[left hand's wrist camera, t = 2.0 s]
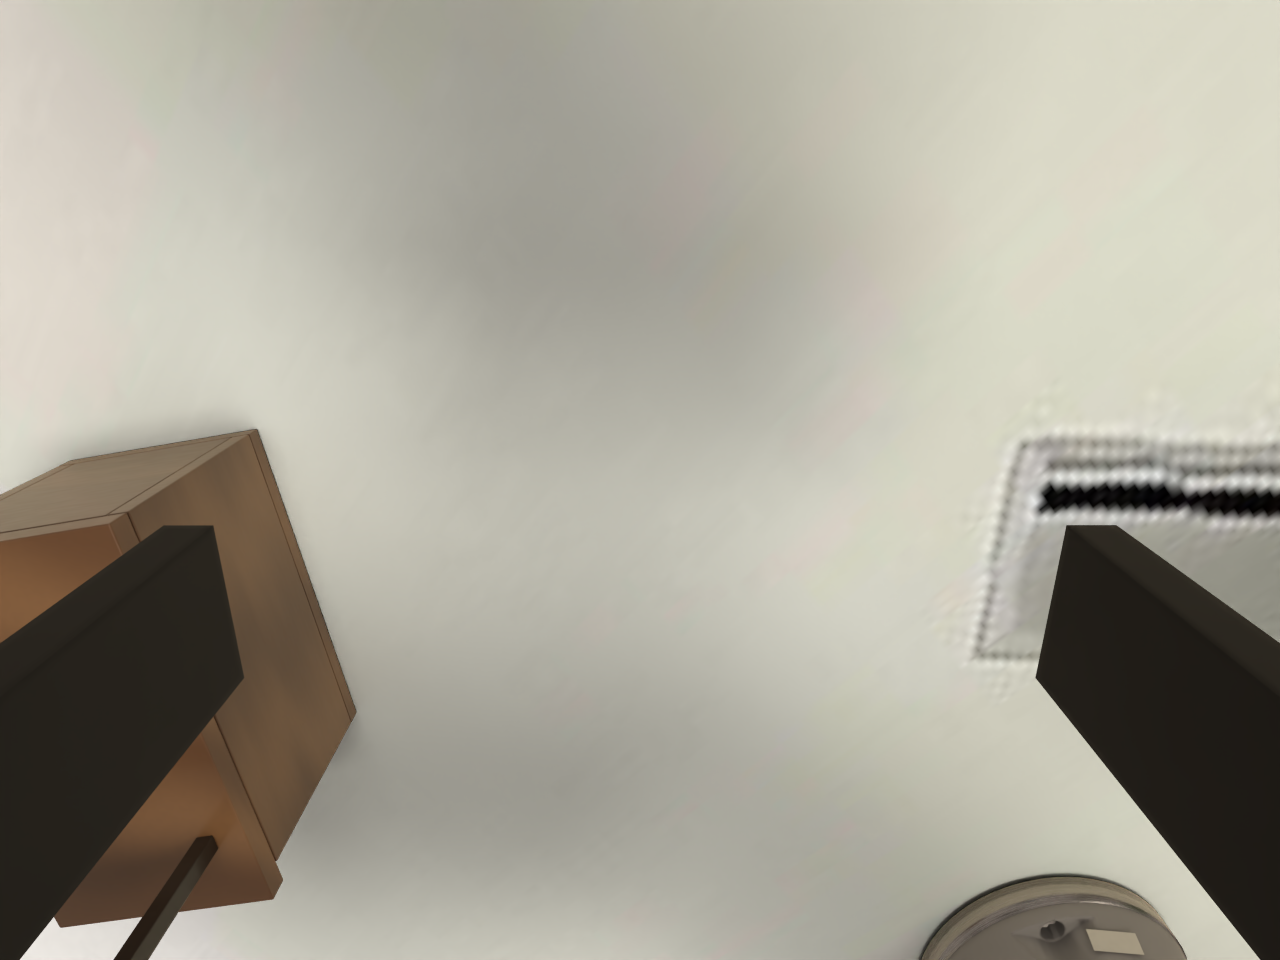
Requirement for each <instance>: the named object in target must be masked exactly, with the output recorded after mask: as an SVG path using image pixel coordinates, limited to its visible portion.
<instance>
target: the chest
mask: <svg viewBox="0 0 1280 960" xmlns="http://www.w3.org/2000/svg"><path fill="white" fill-rule="evenodd" d="M122 513H127V515H128V517H129V520H130V522H131V524H132V527H133V529H134V531H135V534H136V536H137V538H138V541H139V543H140V542H141V541H143V540H144V539H145V538H147V537H148V536H150V535H151V534H152V533H154V532H155V531H156V530H158V529H159V528H161V527H162V526H163V525H213V526H214V531H215V536H216V541H217V546H218V551H219V555H220V560H221V565H222V570H223V575H224V580H225V585H226V590H227V595H228V600H229V605H230V610H231V614H232V619H233V624H234V629H235V634H236V639H237V644H238V649H239V654H240V659H241V664H242V669H243V673H244V679H243V680H242V681H241V683H240V684H239V685H238V686H237V688H236V689H235V690H234V691H233V693H232V694H231V695H230V696H229V698H228V699H227V700H226V701H225V703H224V704H223V705H222V706H221V708H220V709H219V710H218V711H217V713H216V714H215V715H214V719H215V721H216V723H217V726H218V728H219V731H220V733H221V735H222V738H223V740H224V742H225V745H226V747H227V749H228V752H229V754H230V756H231V759H232V761H233V763H234V766H235V768H236V770H237V773H238V775H239V777H240V780H241V782H242V784H243V787H244V789H245V791H246V794H247V796H248V798H249V801H250V803H251V806H252V808H253V810H254V813H255V815H256V817H257V820H258V822H259V824H260V827H261V829H262V831H263V834H264V836H265V838H266V841H267V843H268V845H269V848H270V850H271V852H272V855H273V857H274V859H275V861H277V860H278V858H279V856H280V854H281V852H282V850H283V849H284V847H285V845H286V843H287V841H288V839H289V837H290V836H291V834H292V832H293V830H294V828H295V826H296V824H297V822H298V821H299V819H300V817H301V815H302V813H303V811H304V809H305V807H306V806H307V804H308V802H309V800H310V798H311V796H312V794H313V793H314V791H315V789H316V787H317V785H318V783H319V781H320V779H321V778H322V776H323V774H324V772H325V770H326V768H327V766H328V765H329V763H330V761H331V759H332V757H333V755H334V753H335V751H336V750H337V748H338V746H339V744H340V742H341V740H342V738H343V736H344V735H345V733H346V731H347V729H348V727H349V725H350V723H351V721H352V720H353V718H354V716H355V714H356V710H355V707H354V704H353V701H352V699H351V696H350V693H349V690H348V687H347V684H346V682H345V679H344V676H343V673H342V670H341V667H340V664H339V662H338V659H337V656H336V653H335V650H334V647H333V645H332V642H331V639H330V636H329V633H328V630H327V627H326V625H325V622H324V619H323V616H322V613H321V610H320V608H319V605H318V602H317V599H316V596H315V593H314V591H313V588H312V585H311V582H310V579H309V576H308V573H307V571H306V568H305V565H304V562H303V559H302V556H301V554H300V551H299V548H298V545H297V542H296V539H295V536H294V534H293V531H292V528H291V525H290V522H289V519H288V517H287V514H286V511H285V508H284V505H283V502H282V500H281V497H280V494H279V491H278V488H277V485H276V482H275V480H274V477H273V474H272V471H271V468H270V465H269V463H268V460H267V457H266V454H265V451H264V448H263V445H262V443H261V440H260V437H259V434H258V431H257V430H256V429H255V430H249V431H243V432H237V433H231V434H225V435H219V436H213V437H207V438H202V439H196V440H190V441H184V442H178V443H172V444H166V445H160V446H154V447H148V448H142V449H136V450H131V451H125V452H119V453H113V454H107V455H101V456H95V457H89V458H83V459H77V460H71V461H68V462H66V463H64V464H62V465H60V466H59V467H56V468H54V469H52V470H50V471H48V472H46V473H44V474H42V475H40V476H38V477H36V478H34V479H32V480H30V481H28V482H26V483H24V484H22V485H20V486H17V487H15V488H13V489H11V490H9V491H7V492H5V493H3V494H1V495H0V534H1V533H7V532H13V531H19V530H25V529H31V528H37V527H43V526H49V525H55V524H61V523H68V522H74V521H80V520H86V519H92V518H98V517H104V516H110V515H116V514H122Z"/></svg>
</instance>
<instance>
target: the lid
mask: <svg viewBox="0 0 1280 960" xmlns="http://www.w3.org/2000/svg"><path fill="white" fill-rule="evenodd" d="M138 543H139V541H138V538H137V536H136V534H135V531H134V529H133V527H132V524H131V522H130V520H129V517H128V515H127V513H122V514H116V515H110V516H104V517H98V518H92V519H86V520H80V521H74V522H68V523H61V524H55V525H49V526H43V527H37V528H31V529H25V530H19V531H13V532H7V533H1V534H0V643H1V642H3V641H4V640H5V639H7V638H8V637H9V636H11V635H12V634H14V633H15V632H16V631H18V630H19V629H21V628H22V627H23V626H25V625H26V624H28V623H29V622H30V621H32V620H33V619H34V618H36V617H37V616H39V615H40V614H41V613H43V612H44V611H46V610H47V609H48V608H50V607H51V606H52V605H54V604H55V603H57V602H58V601H59V600H61V599H62V598H64V597H65V596H66V595H68V594H69V593H70V592H72V591H73V590H75V589H76V588H77V587H79V586H80V585H82V584H83V583H84V582H86V581H87V580H89V579H90V578H91V577H93V576H94V575H95V574H97V573H98V572H100V571H101V570H102V569H104V568H105V567H107V566H108V565H109V564H111V563H112V562H113V561H115V560H116V559H118V558H119V557H120V556H122V555H123V554H125V553H126V552H127V551H129V550H130V549H132V548H133V547H134V546H136V545H137V544H138ZM282 881H283V878H282V876H281V873H280V871H279V869H278V866H277V864H276V862H275V859H274V857H273V855H272V852H271V850H270V848H269V845H268V843H267V841H266V838H265V836H264V834H263V831H262V829H261V827H260V824H259V822H258V820H257V817H256V815H255V813H254V810H253V808H252V806H251V803H250V801H249V798H248V796H247V794H246V791H245V789H244V787H243V784H242V782H241V780H240V777H239V775H238V773H237V770H236V768H235V766H234V763H233V761H232V759H231V756H230V754H229V752H228V749H227V747H226V745H225V742H224V740H223V738H222V735H221V733H220V731H219V728H218V726H217V723H216V721H215V719H214V716H213V718H212V719H211V720H210V722H209V723H208V724H207V725H206V727H205V728H204V729H203V730H202V732H201V733H200V734H199V735H198V737H197V738H196V739H195V740H194V742H193V743H192V744H191V745H190V747H189V748H188V749H187V750H186V752H185V753H184V754H183V755H182V757H181V758H180V759H179V760H178V762H177V763H176V764H175V765H174V767H173V768H172V769H171V770H170V772H169V773H168V774H167V775H166V777H165V778H164V779H163V780H162V782H161V783H160V784H159V785H158V787H157V788H156V789H155V790H154V792H153V793H152V794H151V795H150V797H149V798H148V799H147V801H146V802H145V803H144V804H143V806H142V807H141V808H140V809H139V811H138V812H137V813H136V814H135V816H134V817H133V818H132V819H131V821H130V822H129V823H128V824H127V826H126V827H125V828H124V829H123V831H122V832H121V833H120V834H119V836H118V837H117V838H116V839H115V841H114V842H113V843H112V844H111V846H110V847H109V848H108V849H107V851H106V852H105V853H104V854H103V856H102V857H101V858H100V859H99V861H98V862H97V863H96V864H95V866H94V867H93V868H92V869H91V871H90V872H89V873H88V874H87V876H86V877H85V878H84V880H83V881H82V882H81V883H80V885H79V886H78V887H77V888H76V890H75V891H74V892H73V893H72V895H71V896H70V897H69V898H68V900H67V901H66V902H65V903H64V905H63V906H62V907H61V908H60V910H59V911H58V912H57V913H56V915H55V916H54V918H55V919H56V921H57V923H58V925H59V926H60V927H61V928H62V927H70V926H77V925H85V924H92V923H100V922H107V921H115V920H122V919H130V918H137V917H142V919H141V920H140V921H139V923H138V924H137V926H136V927H135V929H134V930H133V932H132V933H131V935H130V936H129V938H128V939H127V941H126V942H125V944H124V945H123V947H122V948H121V950H120V951H119V952H118V954H117V955H116V957H115V958H114V960H148V959H149V958H150V956H151V955H152V953H153V951H154V950H155V948H156V947H157V945H158V943H159V942H160V940H161V939H162V937H163V936H164V934H165V932H166V931H167V929H168V928H169V926H170V925H171V923H172V921H173V920H174V918H175V917H176V915H177V913H178V912H182V911H190V910H197V909H205V908H212V907H220V906H227V905H235V904H242V903H250V902H257V901H265V900H272V899H274V897H275V895H276V893H277V891H278V889H279V887H280V885H281V883H282Z"/></svg>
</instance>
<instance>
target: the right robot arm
mask: <svg viewBox="0 0 1280 960" xmlns="http://www.w3.org/2000/svg"><path fill="white" fill-rule="evenodd" d="M921 960H1187V958H1186V955H1185V953H1184V951H1183V948H1182V947H1181V945H1180V944H1179V942H1178V940H1177V939H1176V938H1175V936H1174V935H1173V933H1172V932H1171V931H1170V929H1169V928H1168V926H1167V925H1166V924H1165V922H1164V921H1163V919H1162V918H1161V917H1160V915H1159V914H1158V913H1157V912H1156V910H1155V909H1154V908H1153V907H1152V906H1151V905H1150V904H1148V903H1147V902H1146V901H1145V900H1144V899H1142V898H1141V897H1139V896H1138V895H1136V894H1134V893H1133V892H1131V891H1129V890H1127V889H1125V888H1122V887H1120V886H1118V885H1115V884H1111V883H1108V882H1105V881H1100V880H1096V879H1089V878H1081V877H1052V878H1042V879H1036V880H1030V881H1026V882H1022V883H1018V884H1014V885H1011V886H1008V887H1005V888H1002V889H1000V890H997V891H995V892H992V893H990V894H988V895H986V896H984V897H982V898H980V899H978V900H976V901H975V902H973V903H971V904H970V905H968V906H967V907H965V908H964V909H962V910H961V911H959V912H958V913H957V914H956V915H955V916H953V917H952V918H951V919H950V920H949V921H948V922H947V923H946V924H945V925H944V926H943V927H942V928H941V929H940V930H939V931H938V932H937V933H936V935H935V936H934V937H933V939H932V940H931V942H930V943H929V945H928V947H927V948H926V950H925V952H924V954H923V957H922V959H921Z"/></svg>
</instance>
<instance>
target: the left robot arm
mask: <svg viewBox="0 0 1280 960" xmlns="http://www.w3.org/2000/svg"><path fill="white" fill-rule="evenodd" d="M243 679H244V673H243V669H242V664H241V659H240V654H239V649H238V644H237V639H236V634H235V629H234V624H233V619H232V614H231V610H230V605H229V600H228V595H227V590H226V585H225V580H224V575H223V570H222V565H221V560H220V555H219V551H218V546H217V541H216V536H215V531H214V526H213V525H163V526H162V527H161V528H159V529H158V530H156V531H155V532H154V533H152V534H151V535H150V536H148V537H147V538H145V539H144V540H143V541H141V542H140V543H138V544H137V545H136V546H134V547H133V548H132V549H130V550H129V551H127V552H126V553H125V554H123V555H122V556H120V557H119V558H118V559H116V560H115V561H113V562H112V563H111V564H109V565H108V566H107V567H105V568H104V569H102V570H101V571H100V572H98V573H97V574H95V575H94V576H93V577H91V578H90V579H89V580H87V581H86V582H84V583H83V584H82V585H80V586H79V587H77V588H76V589H75V590H73V591H72V592H70V593H69V594H68V595H66V596H65V597H64V598H62V599H61V600H59V601H58V602H57V603H55V604H54V605H52V606H51V607H50V608H48V609H47V610H46V611H44V612H43V613H41V614H40V615H39V616H37V617H36V618H34V619H33V620H32V621H30V622H29V623H28V624H26V625H25V626H23V627H22V628H21V629H19V630H18V631H16V632H15V633H14V634H12V635H11V636H9V637H8V638H7V639H5V640H4V641H3V642H1V643H0V960H20V958H21V957H22V956H23V955H24V953H25V952H26V951H27V950H28V948H29V947H30V946H31V945H32V943H33V942H34V941H35V940H36V938H37V937H38V936H39V935H40V933H41V932H42V931H43V930H44V928H45V927H46V926H47V925H48V923H49V922H50V921H51V920H52V918H53V917H54V916H55V915H56V913H57V912H58V911H59V910H60V908H61V907H62V906H63V905H64V903H65V902H66V901H67V900H68V898H69V897H70V896H71V895H72V893H73V892H74V891H75V890H76V888H77V887H78V886H79V885H80V883H81V882H82V881H83V880H84V878H85V877H86V876H87V874H88V873H89V872H90V871H91V869H92V868H93V867H94V866H95V864H96V863H97V862H98V861H99V859H100V858H101V857H102V856H103V854H104V853H105V852H106V851H107V849H108V848H109V847H110V846H111V844H112V843H113V842H114V841H115V839H116V838H117V837H118V836H119V834H120V833H121V832H122V831H123V829H124V828H125V827H126V826H127V824H128V823H129V822H130V821H131V819H132V818H133V817H134V816H135V814H136V813H137V812H138V811H139V809H140V808H141V807H142V806H143V804H144V803H145V802H146V801H147V799H148V798H149V797H150V795H151V794H152V793H153V792H154V790H155V789H156V788H157V787H158V785H159V784H160V783H161V782H162V780H163V779H164V778H165V777H166V775H167V774H168V773H169V772H170V770H171V769H172V768H173V767H174V765H175V764H176V763H177V762H178V760H179V759H180V758H181V757H182V755H183V754H184V753H185V752H186V750H187V749H188V748H189V747H190V745H191V744H192V743H193V742H194V740H195V739H196V738H197V737H198V735H199V734H200V733H201V732H202V730H203V729H204V728H205V727H206V725H207V724H208V723H209V722H210V720H211V719H212V718H213V716H214V715H215V714H216V713H217V711H218V710H219V709H220V708H221V706H222V705H223V704H224V703H225V701H226V700H227V699H228V698H229V696H230V695H231V694H232V693H233V691H234V690H235V689H236V688H237V686H238V685H239V684H240V683H241V681H242V680H243ZM1036 679H1037V680H1038V681H1039V683H1040V684H1041V685H1042V686H1043V688H1044V689H1045V690H1046V691H1047V693H1048V694H1049V695H1050V696H1051V698H1052V699H1053V700H1054V701H1055V703H1056V704H1057V705H1058V706H1059V708H1060V709H1061V710H1062V711H1063V713H1064V714H1065V715H1066V716H1067V718H1068V719H1069V720H1070V722H1071V723H1072V724H1073V725H1074V727H1075V728H1076V729H1077V730H1078V732H1079V733H1080V734H1081V735H1082V737H1083V738H1084V739H1085V740H1086V742H1087V743H1088V744H1089V745H1090V747H1091V748H1092V749H1093V750H1094V752H1095V753H1096V754H1097V755H1098V757H1099V758H1100V759H1101V760H1102V762H1103V763H1104V764H1105V765H1106V767H1107V768H1108V769H1109V770H1110V772H1111V773H1112V774H1113V775H1114V777H1115V778H1116V779H1117V780H1118V782H1119V783H1120V784H1121V785H1122V787H1123V788H1124V789H1125V790H1126V792H1127V793H1128V794H1129V795H1130V797H1131V798H1132V799H1133V801H1134V802H1135V803H1136V804H1137V806H1138V807H1139V808H1140V809H1141V811H1142V812H1143V813H1144V814H1145V816H1146V817H1147V818H1148V819H1149V821H1150V822H1151V823H1152V824H1153V826H1154V827H1155V828H1156V829H1157V831H1158V832H1159V833H1160V834H1161V836H1162V837H1163V838H1164V839H1165V841H1166V842H1167V843H1168V844H1169V846H1170V847H1171V848H1172V849H1173V851H1174V852H1175V853H1176V854H1177V856H1178V857H1179V858H1180V859H1181V861H1182V862H1183V863H1184V864H1185V866H1186V867H1187V868H1188V869H1189V871H1190V872H1191V873H1192V874H1193V876H1194V877H1195V878H1196V880H1197V881H1198V882H1199V883H1200V885H1201V886H1202V887H1203V888H1204V890H1205V891H1206V892H1207V893H1208V895H1209V896H1210V897H1211V898H1212V900H1213V901H1214V902H1215V903H1216V905H1217V906H1218V907H1219V908H1220V910H1221V911H1222V912H1223V913H1224V915H1225V916H1226V917H1227V918H1228V920H1229V921H1230V922H1231V923H1232V925H1233V926H1234V927H1235V928H1236V930H1237V931H1238V932H1239V933H1240V935H1241V936H1242V937H1243V938H1244V940H1245V941H1246V942H1247V943H1248V945H1249V946H1250V947H1251V948H1252V950H1253V951H1254V952H1255V953H1256V955H1257V956H1258V957H1259V958H1260V960H1280V643H1279V642H1277V641H1276V640H1275V639H1273V638H1272V637H1271V636H1269V635H1268V634H1266V633H1265V632H1264V631H1262V630H1261V629H1259V628H1258V627H1257V626H1255V625H1254V624H1252V623H1251V622H1250V621H1248V620H1247V619H1246V618H1244V617H1243V616H1241V615H1240V614H1239V613H1237V612H1236V611H1234V610H1233V609H1232V608H1230V607H1229V606H1228V605H1226V604H1225V603H1223V602H1222V601H1221V600H1219V599H1218V598H1216V597H1215V596H1214V595H1212V594H1211V593H1210V592H1208V591H1207V590H1205V589H1204V588H1203V587H1201V586H1200V585H1198V584H1197V583H1196V582H1194V581H1193V580H1191V579H1190V578H1189V577H1187V576H1186V575H1185V574H1183V573H1182V572H1180V571H1179V570H1178V569H1176V568H1175V567H1173V566H1172V565H1171V564H1169V563H1168V562H1167V561H1165V560H1164V559H1162V558H1161V557H1160V556H1158V555H1157V554H1155V553H1154V552H1153V551H1151V550H1150V549H1148V548H1147V547H1146V546H1144V545H1143V544H1142V543H1140V542H1139V541H1137V540H1136V539H1135V538H1133V537H1132V536H1130V535H1129V534H1128V533H1126V532H1125V531H1124V530H1122V529H1121V528H1119V527H1118V526H1117V525H1067V526H1066V531H1065V536H1064V541H1063V546H1062V551H1061V555H1060V560H1059V565H1058V570H1057V575H1056V580H1055V585H1054V590H1053V595H1052V600H1051V605H1050V610H1049V614H1048V619H1047V624H1046V629H1045V634H1044V639H1043V644H1042V649H1041V654H1040V659H1039V664H1038V669H1037V673H1036Z"/></svg>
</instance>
